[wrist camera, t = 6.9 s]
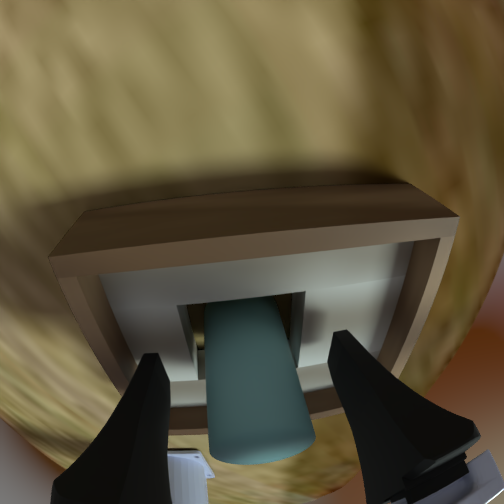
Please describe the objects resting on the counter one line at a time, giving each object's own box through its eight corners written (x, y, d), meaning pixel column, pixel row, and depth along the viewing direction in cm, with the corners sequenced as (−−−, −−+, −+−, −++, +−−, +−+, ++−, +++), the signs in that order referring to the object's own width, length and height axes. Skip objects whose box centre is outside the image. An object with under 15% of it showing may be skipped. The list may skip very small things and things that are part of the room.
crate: (366, 359, 18) (385, 400, 15) (153, 387, 17) (150, 435, 14) (410, 183, 12) (459, 216, 9) (84, 211, 11) (47, 257, 8)
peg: (282, 283, 14) (327, 418, 8) (273, 337, 16) (303, 457, 10) (202, 285, 13) (206, 431, 7) (205, 340, 15) (211, 466, 9)
